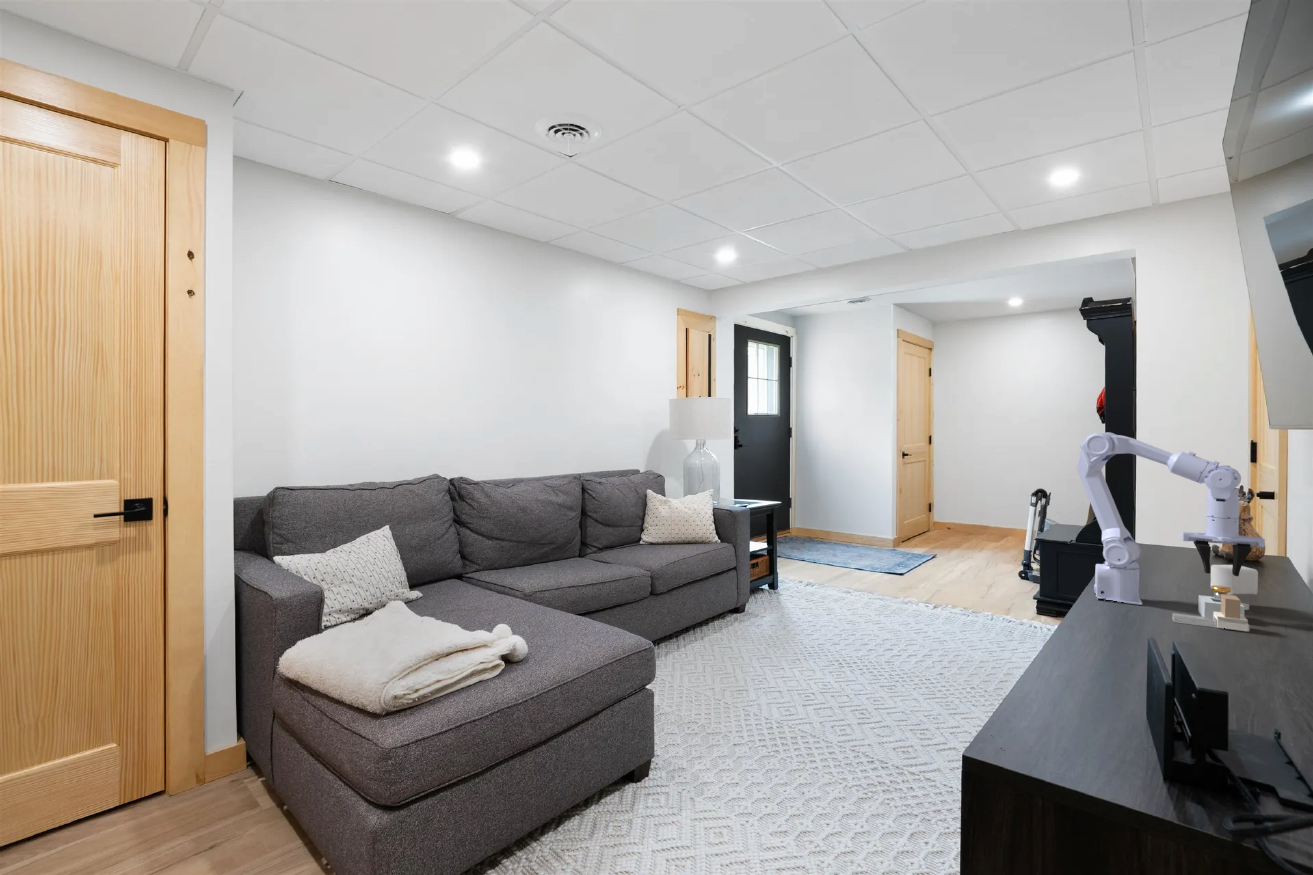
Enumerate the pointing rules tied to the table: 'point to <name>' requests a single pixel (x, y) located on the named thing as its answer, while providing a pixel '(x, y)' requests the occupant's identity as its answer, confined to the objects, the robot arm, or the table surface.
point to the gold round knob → (1220, 592)
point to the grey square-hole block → (1211, 606)
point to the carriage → (1230, 614)
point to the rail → (1196, 620)
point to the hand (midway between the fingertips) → (1221, 573)
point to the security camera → (1235, 580)
